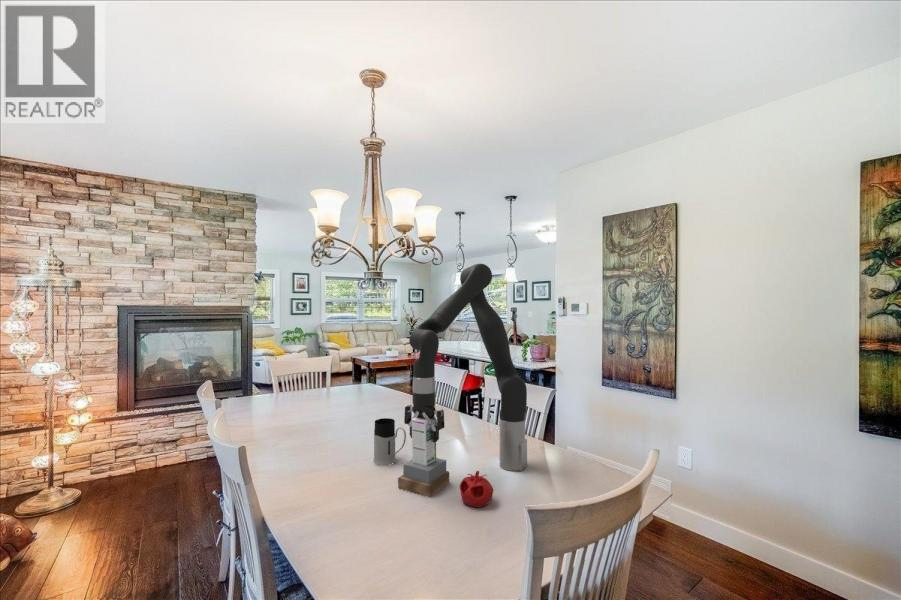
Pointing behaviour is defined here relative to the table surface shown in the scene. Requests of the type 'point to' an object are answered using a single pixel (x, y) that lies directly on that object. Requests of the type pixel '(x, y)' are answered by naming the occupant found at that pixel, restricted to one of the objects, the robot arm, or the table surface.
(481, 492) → the pomegranate
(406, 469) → the charcoal top block
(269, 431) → the table surface
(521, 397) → the robot arm
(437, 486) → the walnut base block
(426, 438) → the syrup box
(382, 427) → the grey mug
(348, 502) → the table surface
